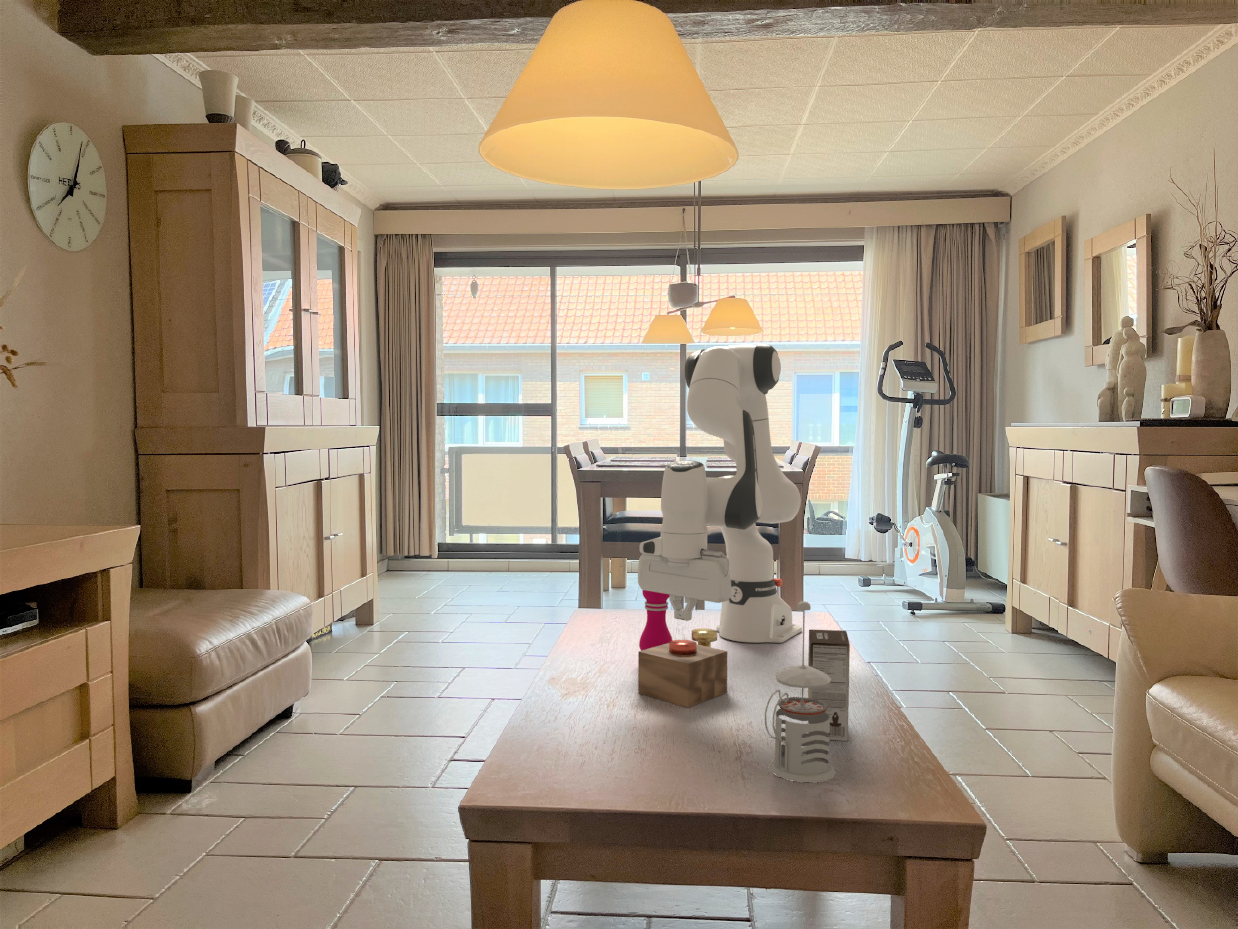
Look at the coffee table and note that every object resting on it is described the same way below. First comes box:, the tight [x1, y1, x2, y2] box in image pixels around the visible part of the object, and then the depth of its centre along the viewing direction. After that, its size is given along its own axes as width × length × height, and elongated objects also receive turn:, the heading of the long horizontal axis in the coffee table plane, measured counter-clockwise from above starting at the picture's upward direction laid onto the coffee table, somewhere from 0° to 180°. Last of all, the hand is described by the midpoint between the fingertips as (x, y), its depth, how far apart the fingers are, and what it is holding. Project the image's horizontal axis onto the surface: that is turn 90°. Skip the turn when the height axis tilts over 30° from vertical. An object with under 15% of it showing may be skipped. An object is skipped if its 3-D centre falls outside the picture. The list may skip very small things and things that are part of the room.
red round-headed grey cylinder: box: [669, 639, 698, 655], centre depth 159 cm, size 5×5×9 cm
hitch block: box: [637, 643, 728, 709], centre depth 159 cm, size 12×12×8 cm
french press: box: [764, 600, 837, 784], centre depth 123 cm, size 10×12×25 cm
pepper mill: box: [638, 590, 674, 651], centre depth 178 cm, size 7×7×20 cm
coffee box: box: [807, 629, 851, 742], centre depth 139 cm, size 9×6×16 cm
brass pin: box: [691, 627, 718, 648], centre depth 171 cm, size 5×5×9 cm
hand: (682, 619), depth 159 cm, fingers closed
